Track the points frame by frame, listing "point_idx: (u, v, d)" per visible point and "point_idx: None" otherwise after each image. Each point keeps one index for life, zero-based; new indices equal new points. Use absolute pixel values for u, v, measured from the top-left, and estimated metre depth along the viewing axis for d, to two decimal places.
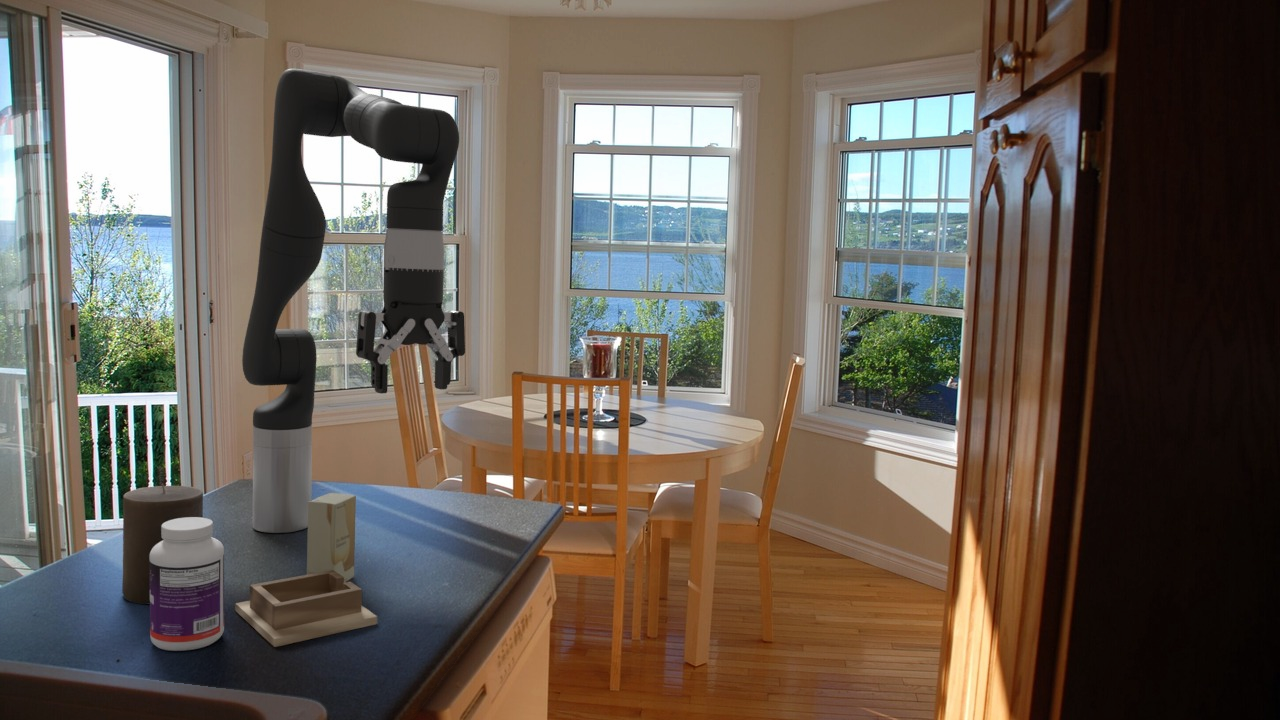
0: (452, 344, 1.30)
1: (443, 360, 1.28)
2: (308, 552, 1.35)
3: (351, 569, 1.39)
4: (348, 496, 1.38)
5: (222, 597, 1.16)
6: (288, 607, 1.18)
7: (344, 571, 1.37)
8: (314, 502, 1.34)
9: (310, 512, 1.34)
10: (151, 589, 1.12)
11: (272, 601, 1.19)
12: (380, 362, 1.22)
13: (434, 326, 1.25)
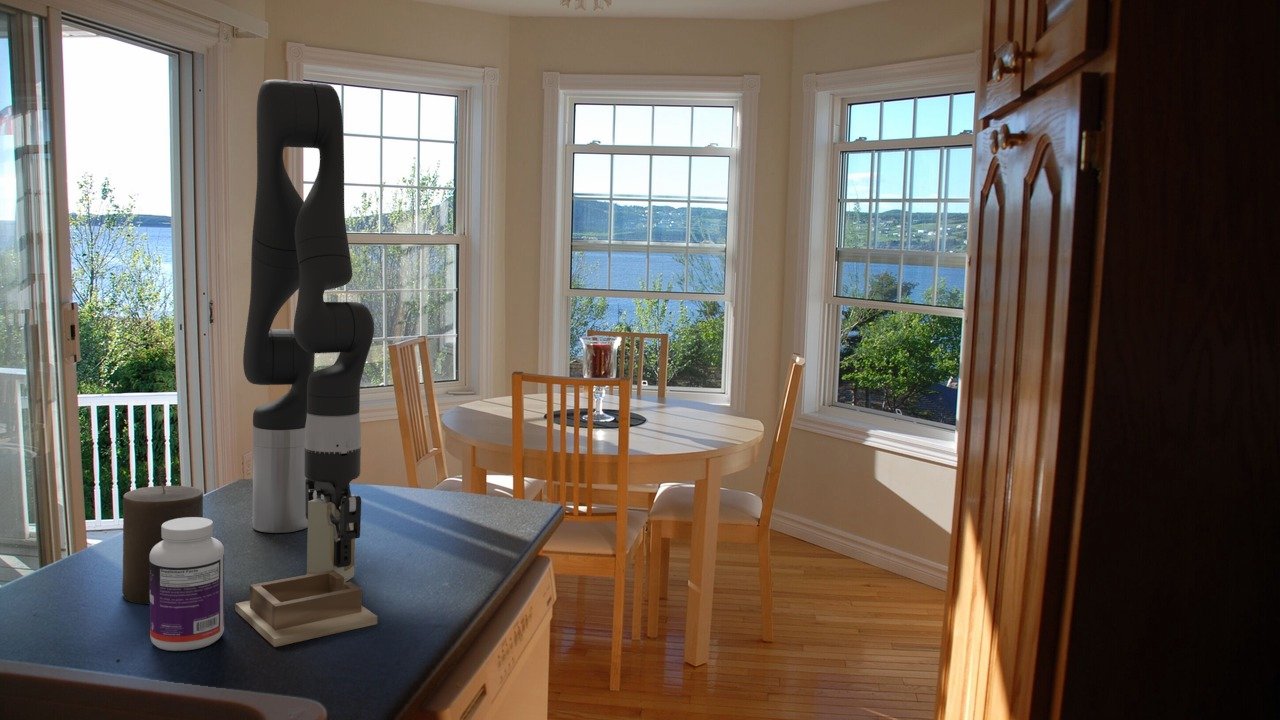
0: None
1: None
2: (308, 552, 1.35)
3: (351, 569, 1.39)
4: None
5: (222, 597, 1.16)
6: (288, 607, 1.18)
7: (344, 571, 1.37)
8: (314, 502, 1.34)
9: (310, 512, 1.34)
10: (151, 589, 1.12)
11: (272, 601, 1.19)
12: None
13: None
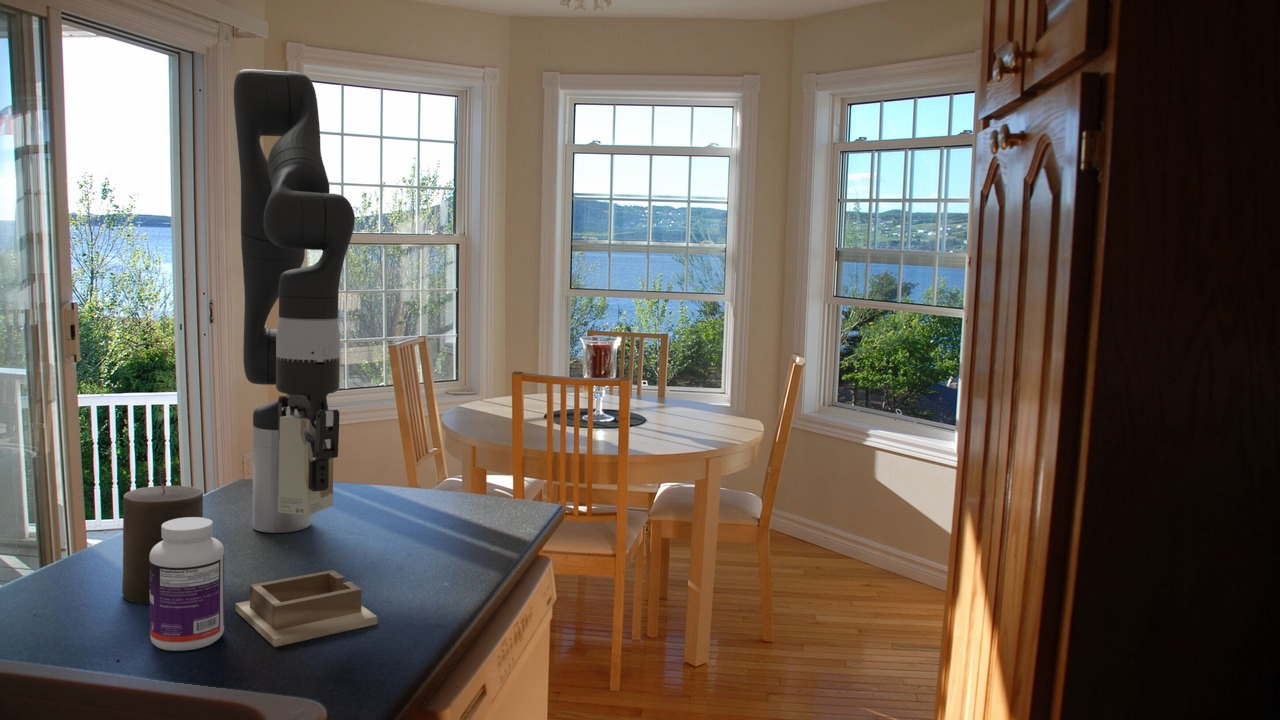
0: None
1: None
2: (280, 474, 1.20)
3: (329, 496, 1.24)
4: None
5: (222, 597, 1.16)
6: (288, 607, 1.18)
7: (320, 497, 1.22)
8: (286, 417, 1.19)
9: (282, 429, 1.19)
10: (151, 589, 1.12)
11: (272, 601, 1.19)
12: (330, 458, 1.20)
13: None
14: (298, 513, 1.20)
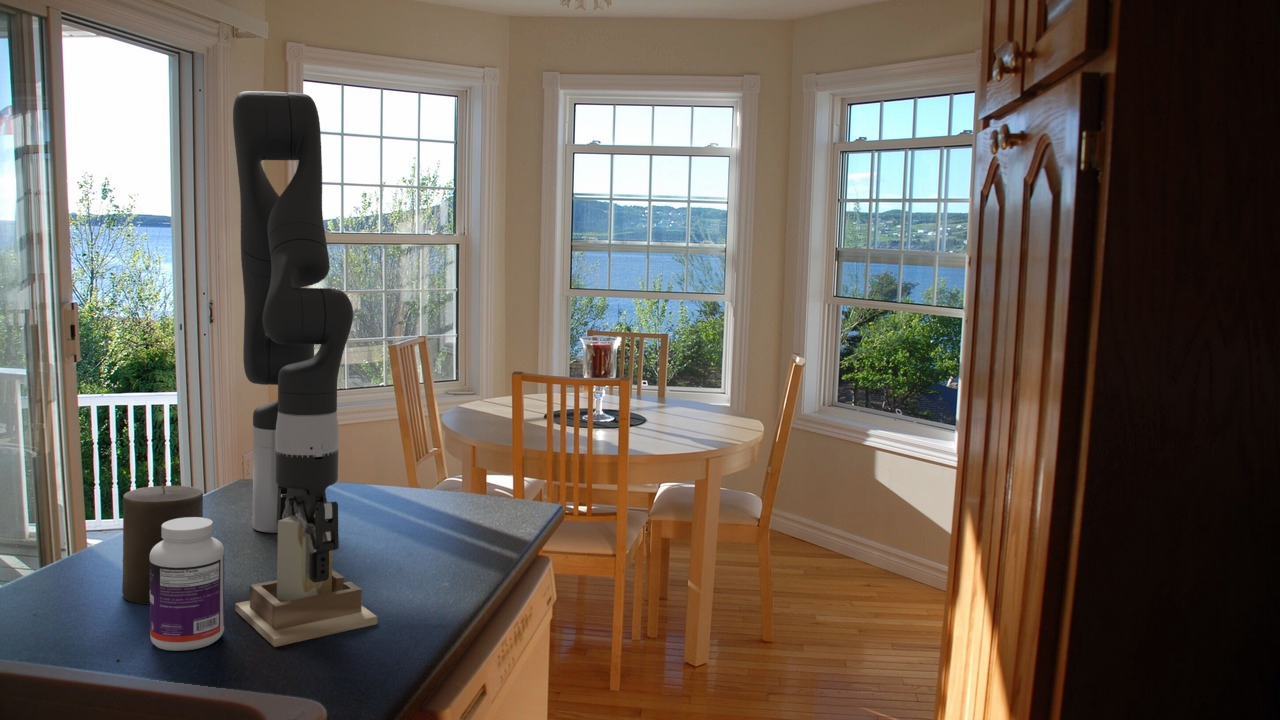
0: (282, 515, 1.28)
1: None
2: (278, 577, 1.22)
3: None
4: None
5: (222, 597, 1.16)
6: (288, 607, 1.18)
7: None
8: (284, 522, 1.21)
9: (280, 533, 1.21)
10: (151, 589, 1.12)
11: (272, 601, 1.19)
12: None
13: None
14: None
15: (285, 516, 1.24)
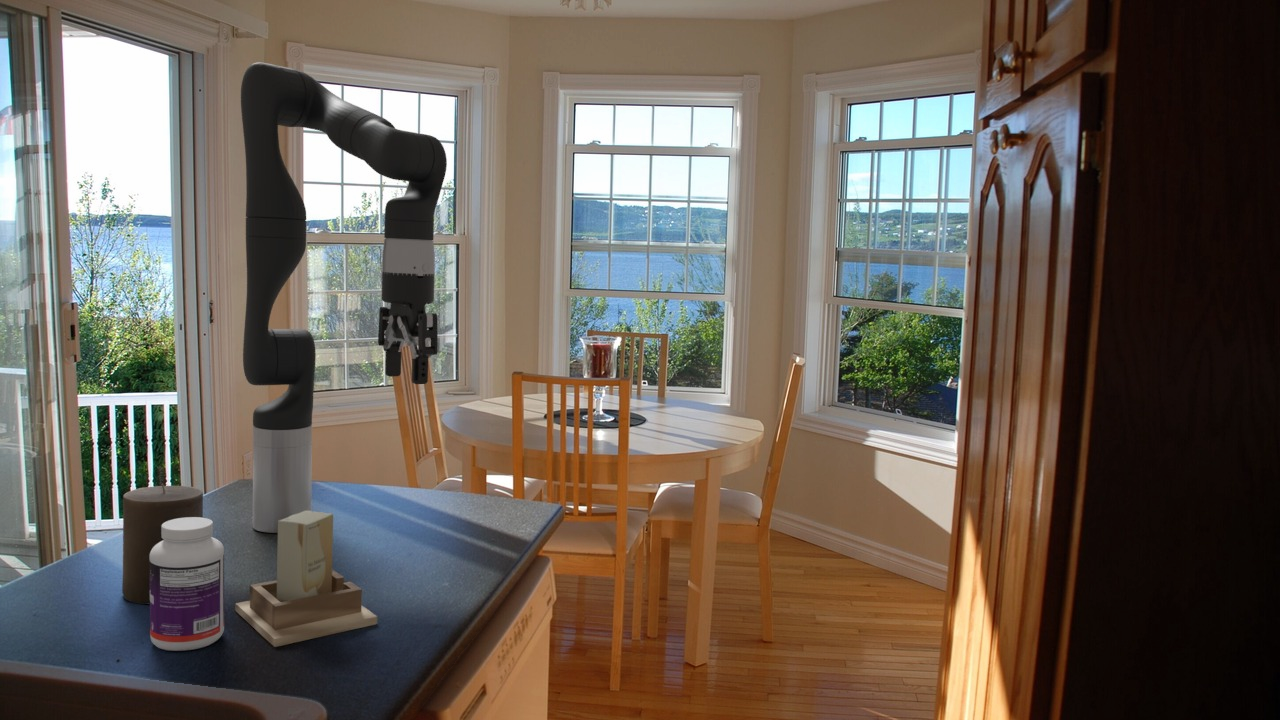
0: None
1: (397, 350, 1.47)
2: (278, 577, 1.22)
3: None
4: (324, 515, 1.25)
5: (222, 597, 1.16)
6: (288, 607, 1.18)
7: None
8: (284, 522, 1.21)
9: (280, 533, 1.21)
10: (151, 589, 1.12)
11: (272, 601, 1.19)
12: (430, 356, 1.41)
13: None
14: None
15: (388, 333, 1.44)
